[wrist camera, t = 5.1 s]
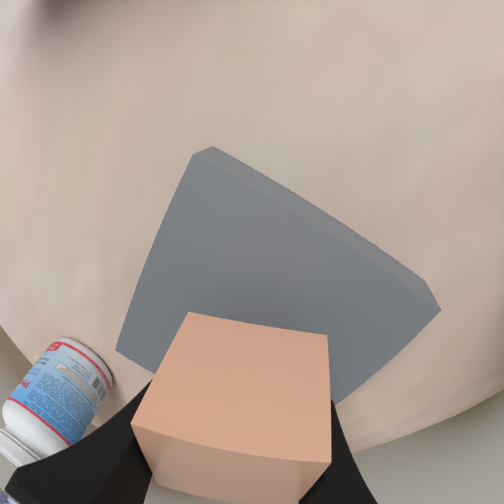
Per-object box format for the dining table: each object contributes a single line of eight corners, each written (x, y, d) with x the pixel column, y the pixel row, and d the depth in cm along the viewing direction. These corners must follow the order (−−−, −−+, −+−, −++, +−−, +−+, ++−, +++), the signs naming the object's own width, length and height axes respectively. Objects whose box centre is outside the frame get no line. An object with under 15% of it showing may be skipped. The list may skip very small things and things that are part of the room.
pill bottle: (55, 321, 20) (-29, 421, 10) (119, 362, 20) (47, 483, 10) (56, 362, 22) (-6, 448, 12) (111, 397, 23) (57, 495, 13)
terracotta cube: (327, 334, 10) (331, 462, 6) (298, 413, 12) (290, 510, 8) (188, 311, 11) (130, 423, 6) (192, 394, 13) (158, 484, 8)
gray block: (421, 276, 14) (441, 309, 11) (294, 399, 19) (291, 434, 17) (215, 145, 13) (193, 154, 10) (136, 319, 18) (115, 350, 16)
